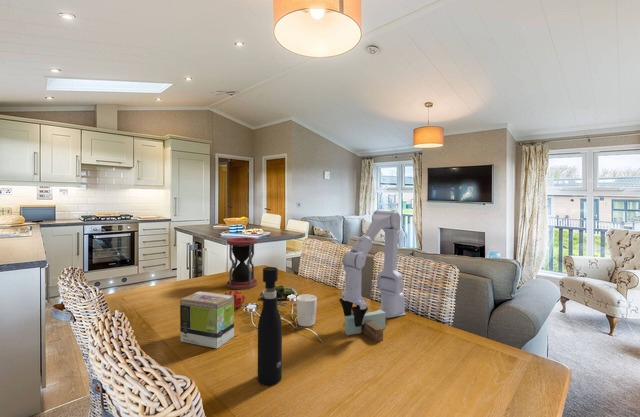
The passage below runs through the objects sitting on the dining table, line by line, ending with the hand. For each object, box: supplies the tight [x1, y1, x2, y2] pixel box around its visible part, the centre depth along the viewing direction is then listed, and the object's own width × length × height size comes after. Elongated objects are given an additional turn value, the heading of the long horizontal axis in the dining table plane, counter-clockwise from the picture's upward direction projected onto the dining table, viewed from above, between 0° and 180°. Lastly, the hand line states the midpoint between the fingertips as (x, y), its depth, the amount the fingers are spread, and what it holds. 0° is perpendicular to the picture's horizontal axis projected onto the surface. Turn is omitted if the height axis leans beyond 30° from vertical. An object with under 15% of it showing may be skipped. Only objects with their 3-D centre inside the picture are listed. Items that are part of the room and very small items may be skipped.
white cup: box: [296, 293, 318, 327], centre depth 119 cm, size 8×8×10 cm
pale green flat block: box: [344, 309, 387, 336], centre depth 113 cm, size 16×2×6 cm, turn 113°
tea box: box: [179, 290, 235, 349], centre depth 105 cm, size 15×10×15 cm, turn 71°
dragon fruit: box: [224, 289, 246, 311], centre depth 133 cm, size 8×8×12 cm
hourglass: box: [226, 237, 258, 290], centre depth 167 cm, size 16×16×25 cm
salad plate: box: [260, 284, 298, 302], centre depth 153 cm, size 19×18×5 cm
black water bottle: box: [257, 266, 283, 387], centre depth 82 cm, size 6×6×30 cm
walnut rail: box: [351, 311, 384, 343], centre depth 113 cm, size 3×18×4 cm, turn 23°
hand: (352, 321), depth 111 cm, fingers open, 7 cm apart
